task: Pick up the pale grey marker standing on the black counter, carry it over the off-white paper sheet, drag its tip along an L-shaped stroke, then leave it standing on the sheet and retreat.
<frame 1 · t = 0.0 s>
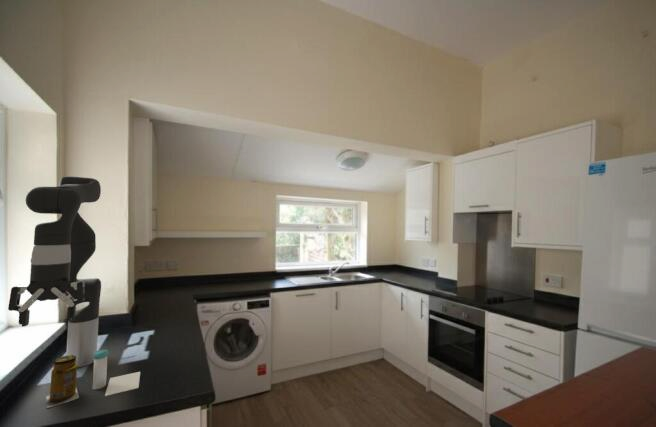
hand: (47, 322, 73), 29 cm above the counter, fingers open, 8 cm apart
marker: (99, 386, 94), on the counter
condiment: (62, 398, 88), on the counter
paper: (123, 383, 96), on the counter
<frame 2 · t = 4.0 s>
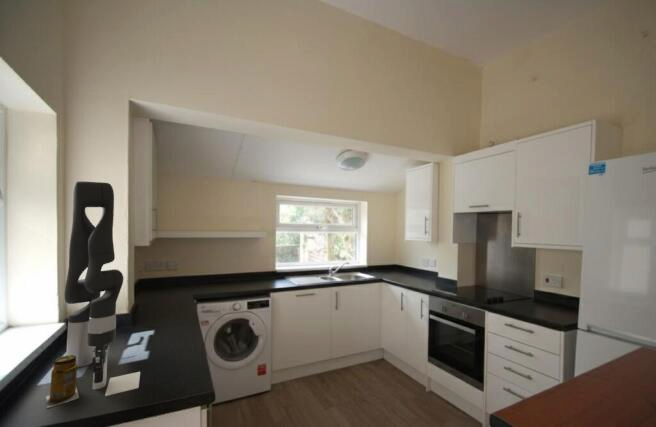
hand: (99, 379, 95), 2 cm above the counter, fingers closed on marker, 3 cm apart
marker: (99, 386, 94), on the counter, touching gripper
everything else where it was.
when the fingers open (3 cm above the counter, at t = 11.1 s): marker stays where it is, resting on paper.
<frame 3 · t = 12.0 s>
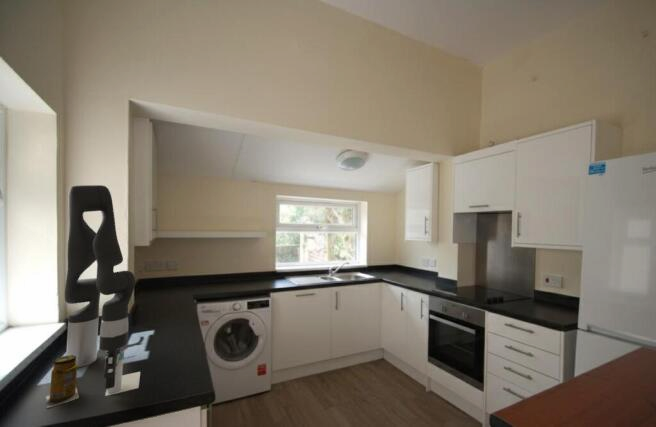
hand: (112, 381, 92), 3 cm above the counter, fingers open, 8 cm apart
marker: (114, 390, 92), resting on paper
everything else where it was.
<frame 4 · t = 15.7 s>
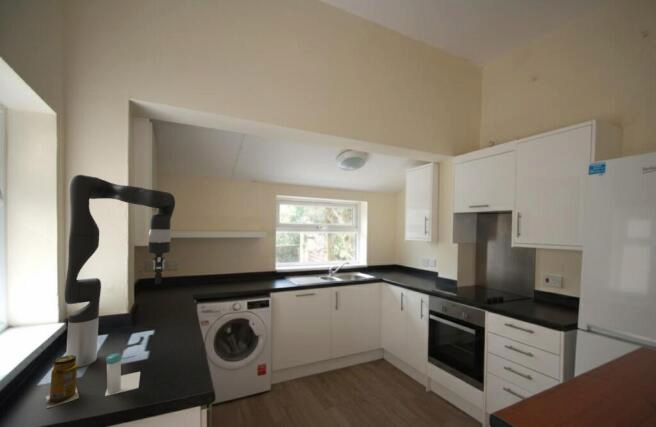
hand: (158, 281, 110), 33 cm above the counter, fingers open, 8 cm apart
at the end: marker inside the target area on the paper (4.7 cm from its centre), point 0.3 cm above the paper's base; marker tilted 4°; the gripper is holding nothing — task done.
